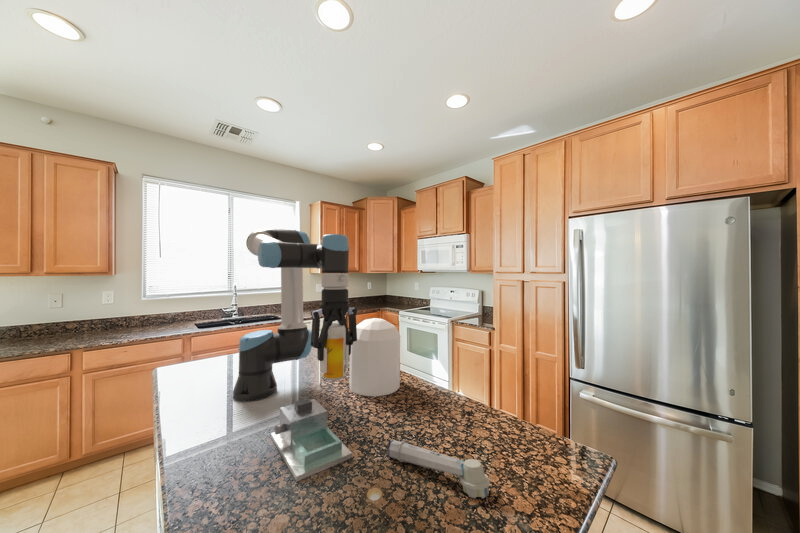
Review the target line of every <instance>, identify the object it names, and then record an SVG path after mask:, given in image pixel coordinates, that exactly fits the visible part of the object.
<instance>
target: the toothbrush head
mask: <svg viewBox="0 0 800 533" xmlns="http://www.w3.org/2000/svg"><path fill="white" fill-rule="evenodd" d="M386 452H387V454H386V455H387V456H388V457H389V458H391V459H395V460H398V461H399V462H400V463H403V462H405V463H410V464H413V465H417V466H421V467H425V468H427V469H432V470H435V471H440V472H444V473H447V474H451V475H455V476H459V478H458V479H459V481H460V484H461V485H462V490H463V492H464V493H465V494H467V495H468V497H469V498H472V499H477V498H481V499H485V498H487V497H488V496H489V494H490V488H489V486H490V483H491V480H490V478H489V476H488V475H487V474H486V473H485V470H484V467H483V465H482V463H481V461H480V460H477V459H473V458H468V459H465V460H464V459H463V460H462V459H460V458H457V457H452V456H449V455H446V454H443V453H439V452H436V451H434V450H430V449H427V448H423V447H420V446H416V445H414V444H411V443H407V442H406V441H405V440H402V441H399V440H395V439H392V440H390V441H389V442H388V445H387V449H386Z"/></svg>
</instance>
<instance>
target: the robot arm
mask: <svg viewBox="0 0 800 533" xmlns="http://www.w3.org/2000/svg"><path fill="white" fill-rule="evenodd" d="M246 249H247V250H248V251H249V252H250V253H251V254H252V255H253V256H256V257H257V261H258V264H259V266H260V267H261V268H269V269H275V268H276V269H278V268H280V282H281V283H280V284H281V285H280V286H281V287H280V290H281V292H280V293H281V294H280V295H281V296H280V298H281V299H280V300H281V301H280V302H281V303H280V304H281V306H280V307H281V314H280V315H281V316H280V317H281V318H280V320H281V323H280V325H279V326H278V327H277V332H275V333H274V331H273V330H271V329H260V330H256V331H251V332H248V333H246V334H244V335H243V336H241V338H240V339H239V343H238V344H239V345H238V349H237V350H238V376H237V379H236V382H235V385H234V388H233V391H232V398H233V399H234V400H235V401H237V402H247V403H249V402H255V401H260V400H264V399H267V398H270V397H271V396H273V395H275V393H277V390H278V384H277V383H278V382H277V381H276V377H275V375H274V371H273V364H279V363H285V362H290V361H298V360H301V359H306V358H307V357H308V356H310V353H311V352H312V348H315V349H317V350H316V352H317V358H316V359H317V361H319V363H320V367H319V370H320V372H322V373H323V374H324V373H327V349H326V348H324V347H325V344H326V340H327V337H328V329H329V326H331V325H332V324H334V323H333V322H336V321H337V323H339V324H340V325H344V326H345V328H346V369H349V368H350V354H351V345H352V344H353V342H354V341H357V328H356V325H357V314H358V308H356V307H350V306H349V304H348V302H349V290H348V287H349V252H350V246H349V238H348V236H347V235H345V234H339V233H338V234H337V233H328V234H324V235H322V237H321V243H318V244H317V243H311V240H310V236H308V234H307V233H306V232H305V231H301V230H296V229H295V230H294V229H282V228H281V229H279V228H261V229H260V228H259V229H257V230H255V231H252V232H251V233H250V234H249V235H248V236H247V238H246ZM303 269H316V270H318V269H320V270H321V287H322V288H323V289H322V290H321V306H320V308H319V309H317V310H311V311H310V315H311V316H310V317H311V319H312V321H311V329H308V325H307V323H305V322H304V290H303V289H304V285H303V283H304V277H303V276H304V273H303V271H304V270H303ZM346 314H348V315H347V316H348V318H346ZM321 316H323V317H324V318H323V320H322V327H320V326H321ZM347 319H348V324H347ZM320 328H321V330H320Z"/></svg>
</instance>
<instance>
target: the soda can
mask: <svg viewBox="0 0 800 533" xmlns="http://www.w3.org/2000/svg"><path fill="white" fill-rule="evenodd" d="M324 348H326V349H327V373H323V377H324V378H325V380H326V381H331V382H335V381H336V382H337V381H340V380H342V379H344V378H345V376H346V373H347V372H346V369H347V368H346V328H345V326H344V325H340V324H339V323H338V322H337V323H332V325H331V326H329V329H328V337H327V340H326V344H325V347H324Z"/></svg>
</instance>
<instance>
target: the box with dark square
mask: <svg viewBox="0 0 800 533" xmlns="http://www.w3.org/2000/svg"><path fill="white" fill-rule="evenodd" d="M270 438H271V440H272V442H273V444H274V446H275V447H276V449H277V450H278V452H279V454H280V456H281V458H282V459H283V461H284V463H285V464H286V466H287V468H288V470H289V471H290V473H291V475H292V477H293V479H294V480H295V482H296V483H297V482H299V481H302V480H304V479H306V478H308V477H311V476H313V475H315V474H318V473H320V472H322V471H324V470H327V469H330V468H332V467H334V466H337V465H338V464H340V463H343V462H345V461H348V460H350V459H352V458H353V452H352V451H351V450H350V449H349V447H347V446H346V445H345V444H344V443H343V441H342V440H341V439H340V438H339V437H338V436H337V435H336V434H335V433H334V432H333V431H332V430H331V429H330V428H329V427H328V410H327V409H326V408H325V407H324V406H322V405H321V403H320V402H318V401H317V400H316V399H315V398H312V399H310V398H303V399H300V400H297V401H294V402H293V404H289V405H285V406H281V407H279V424H278V425H276V426H275V425H274V431H273V432H270Z"/></svg>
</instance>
